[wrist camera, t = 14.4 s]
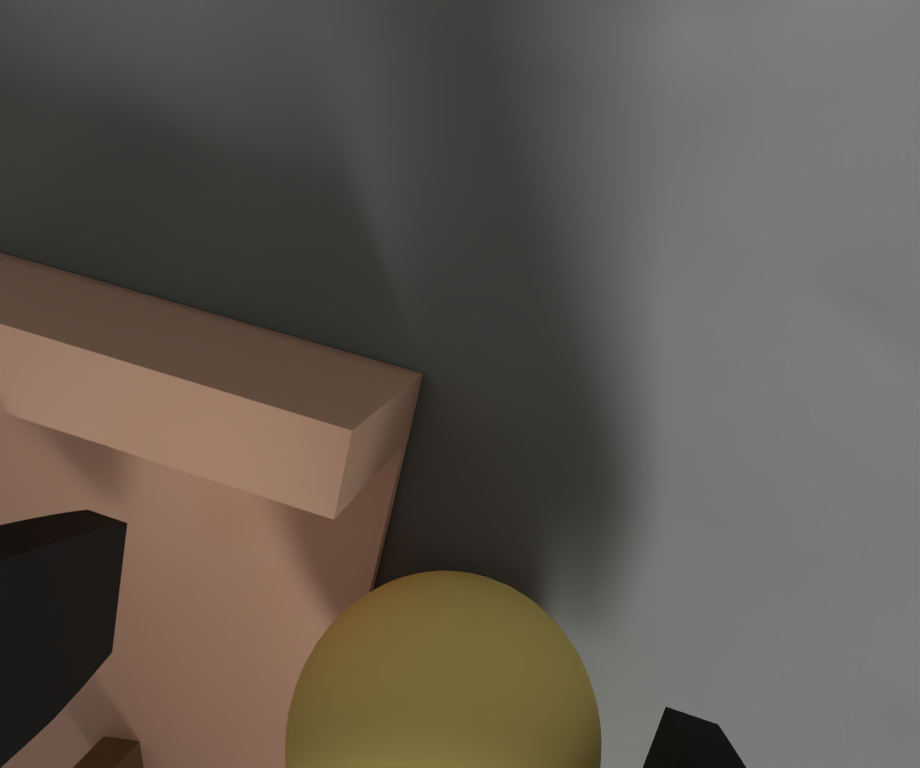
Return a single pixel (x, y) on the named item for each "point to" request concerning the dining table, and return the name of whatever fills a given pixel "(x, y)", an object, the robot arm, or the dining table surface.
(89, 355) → the tray
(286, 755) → the ball
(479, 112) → the dining table surface
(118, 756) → the brown stool
